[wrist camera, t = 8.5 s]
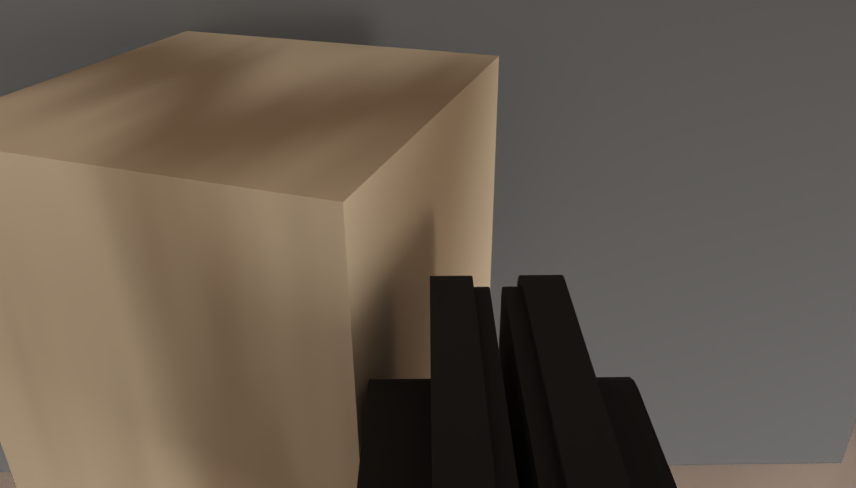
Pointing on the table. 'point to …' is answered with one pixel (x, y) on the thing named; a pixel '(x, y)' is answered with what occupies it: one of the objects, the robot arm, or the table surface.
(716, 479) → the table surface
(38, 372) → the cube
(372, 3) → the mat
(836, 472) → the table surface
